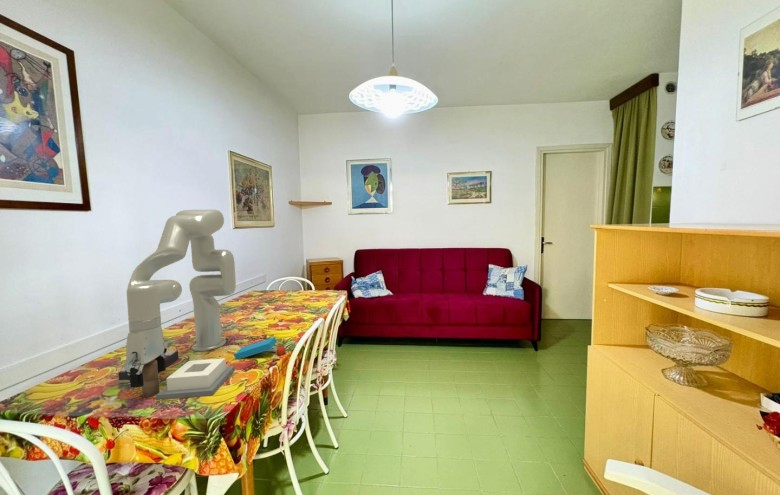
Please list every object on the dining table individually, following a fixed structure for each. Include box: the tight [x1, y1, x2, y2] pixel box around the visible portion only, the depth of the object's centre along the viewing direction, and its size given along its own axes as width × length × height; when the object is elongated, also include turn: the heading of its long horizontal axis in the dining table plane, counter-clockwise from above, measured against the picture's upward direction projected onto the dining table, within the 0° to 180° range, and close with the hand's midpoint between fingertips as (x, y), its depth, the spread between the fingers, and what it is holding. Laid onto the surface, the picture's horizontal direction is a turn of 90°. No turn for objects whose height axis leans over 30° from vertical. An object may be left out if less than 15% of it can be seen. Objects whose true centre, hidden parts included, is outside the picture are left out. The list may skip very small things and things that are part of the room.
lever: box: [233, 336, 286, 360], centre depth 117 cm, size 7×7×18 cm
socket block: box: [155, 357, 235, 401], centre depth 95 cm, size 16×16×6 cm
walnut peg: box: [141, 360, 160, 398], centre depth 90 cm, size 4×4×10 cm
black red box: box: [117, 350, 180, 381], centre depth 108 cm, size 11×4×15 cm
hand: (149, 378), depth 90 cm, fingers open, 9 cm apart
